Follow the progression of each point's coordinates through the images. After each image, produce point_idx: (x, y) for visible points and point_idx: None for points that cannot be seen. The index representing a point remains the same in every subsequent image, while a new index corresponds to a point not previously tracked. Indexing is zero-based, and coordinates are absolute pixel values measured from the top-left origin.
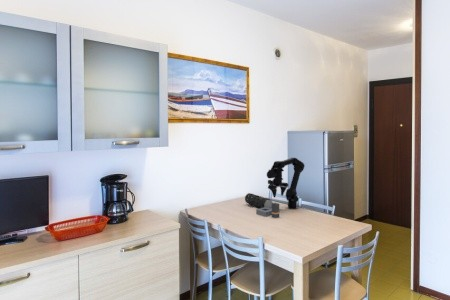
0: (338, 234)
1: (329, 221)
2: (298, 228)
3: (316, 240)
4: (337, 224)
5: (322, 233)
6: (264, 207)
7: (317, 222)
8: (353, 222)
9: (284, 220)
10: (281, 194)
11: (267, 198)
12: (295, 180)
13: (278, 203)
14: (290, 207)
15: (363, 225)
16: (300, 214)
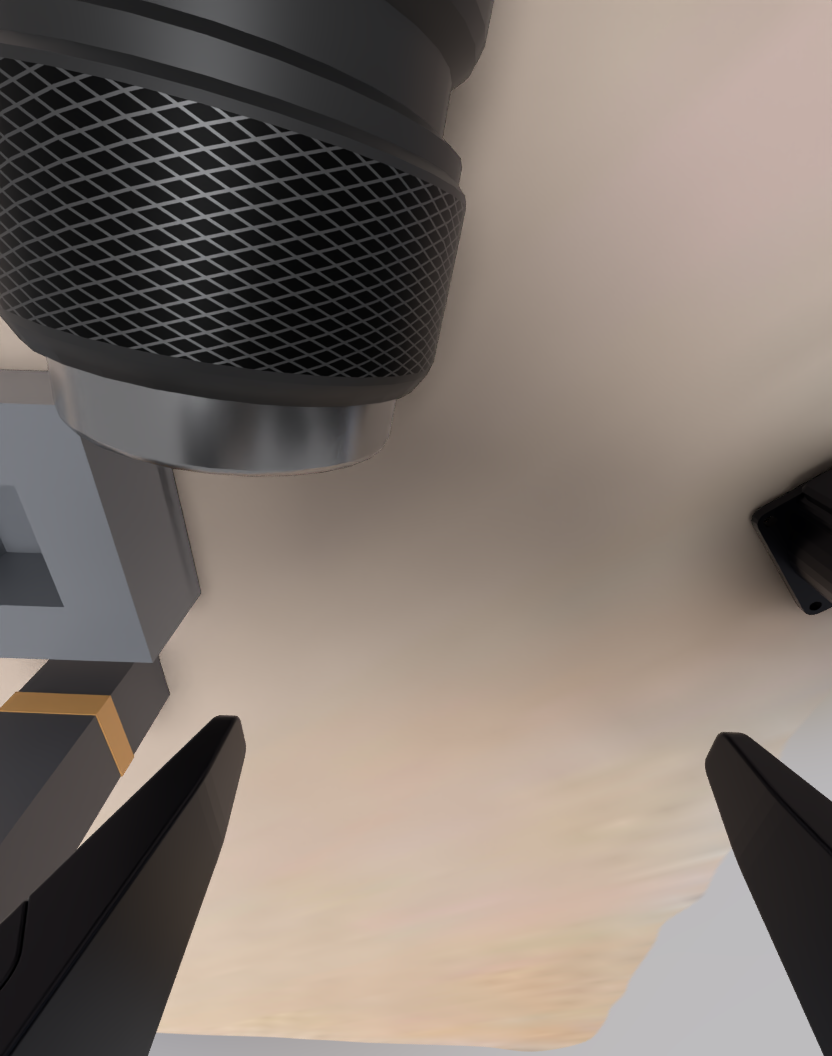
0: (273, 1022)
1: (487, 949)
2: None
3: None
4: (456, 985)
5: (203, 989)
6: (43, 413)
7: (388, 920)
8: (581, 1012)
9: None
10: (745, 779)
11: (149, 349)
12: None
13: None
14: (794, 532)
15: (553, 1041)
16: (523, 761)
